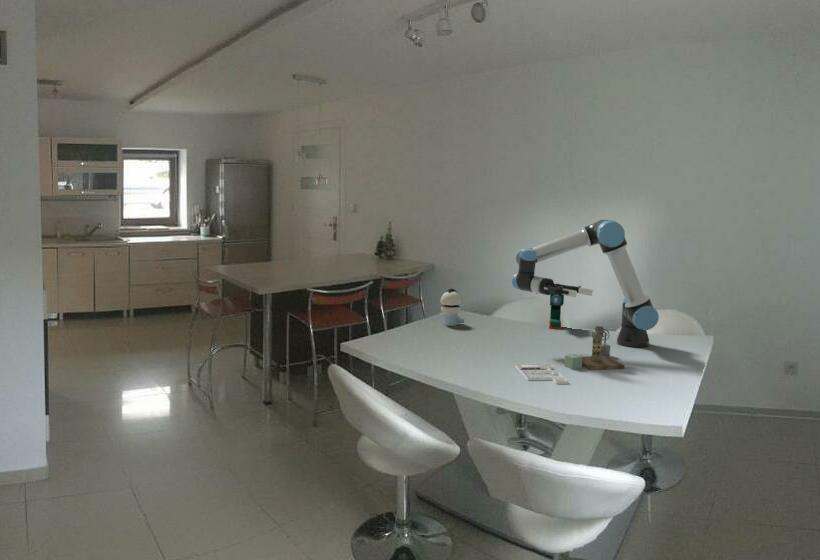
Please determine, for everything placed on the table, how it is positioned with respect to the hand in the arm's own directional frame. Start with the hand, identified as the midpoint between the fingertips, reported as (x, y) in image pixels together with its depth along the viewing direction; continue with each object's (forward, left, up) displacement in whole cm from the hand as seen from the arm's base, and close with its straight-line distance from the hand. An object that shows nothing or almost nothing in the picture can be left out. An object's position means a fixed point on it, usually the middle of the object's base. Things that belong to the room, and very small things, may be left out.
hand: (584, 293), depth 298 cm
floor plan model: (+26, +23, -30) cm, 46 cm away
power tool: (-13, -67, -30) cm, 75 cm away
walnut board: (-5, +9, -30) cm, 31 cm away
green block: (+8, +13, -30) cm, 33 cm away
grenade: (-4, +9, -28) cm, 30 cm away
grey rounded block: (-13, -5, -30) cm, 33 cm away
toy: (+42, -81, -30) cm, 97 cm away
